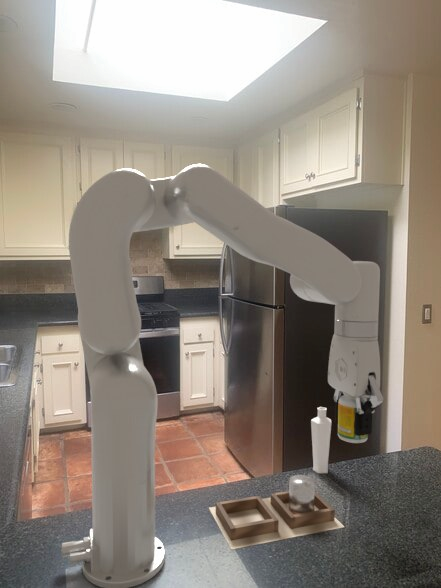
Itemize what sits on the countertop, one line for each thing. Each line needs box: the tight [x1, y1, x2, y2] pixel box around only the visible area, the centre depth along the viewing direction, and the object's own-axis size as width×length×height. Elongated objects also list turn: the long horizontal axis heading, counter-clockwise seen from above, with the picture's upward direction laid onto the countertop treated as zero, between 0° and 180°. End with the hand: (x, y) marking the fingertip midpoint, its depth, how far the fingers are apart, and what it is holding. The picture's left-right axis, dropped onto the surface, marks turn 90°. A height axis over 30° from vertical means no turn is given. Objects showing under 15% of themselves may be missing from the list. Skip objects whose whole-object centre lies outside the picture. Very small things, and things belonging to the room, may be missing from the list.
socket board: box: [208, 490, 345, 551], centre depth 81 cm, size 21×13×3 cm, turn 108°
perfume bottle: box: [310, 406, 332, 474], centre depth 99 cm, size 5×4×15 cm
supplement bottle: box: [337, 393, 369, 444], centre depth 81 cm, size 5×5×10 cm
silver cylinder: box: [288, 474, 316, 515], centre depth 83 cm, size 5×5×6 cm
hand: (352, 427), depth 82 cm, fingers closed on supplement bottle, 5 cm apart
